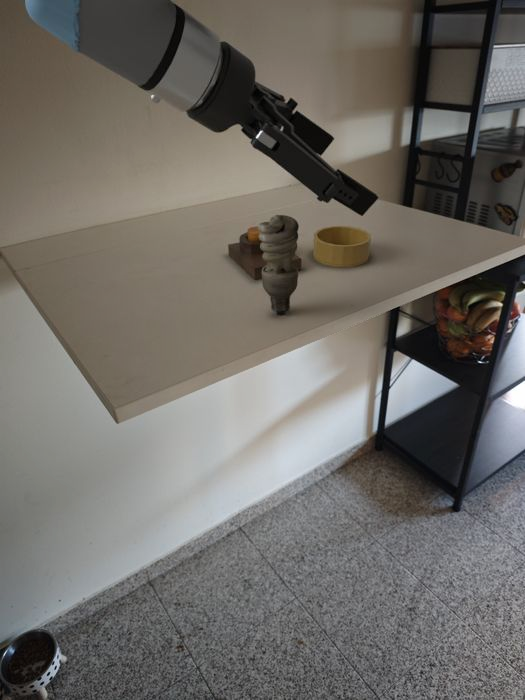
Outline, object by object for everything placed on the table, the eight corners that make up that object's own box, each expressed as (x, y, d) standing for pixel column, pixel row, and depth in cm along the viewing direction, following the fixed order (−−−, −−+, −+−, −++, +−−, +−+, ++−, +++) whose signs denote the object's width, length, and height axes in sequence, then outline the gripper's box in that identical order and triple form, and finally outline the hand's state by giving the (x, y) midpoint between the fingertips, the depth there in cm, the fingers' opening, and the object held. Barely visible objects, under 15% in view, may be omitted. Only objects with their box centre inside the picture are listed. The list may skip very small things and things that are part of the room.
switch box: (301, 269, 88) (301, 248, 86) (254, 280, 85) (254, 258, 83) (271, 247, 97) (271, 227, 95) (228, 255, 94) (227, 235, 92)
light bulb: (265, 324, 73) (263, 224, 64) (255, 307, 77) (253, 211, 69) (302, 318, 74) (304, 219, 65) (290, 302, 78) (291, 207, 70)
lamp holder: (379, 260, 91) (382, 239, 89) (331, 271, 87) (332, 250, 85) (348, 242, 98) (350, 222, 96) (303, 251, 95) (303, 231, 93)
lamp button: (270, 240, 90) (270, 231, 89) (252, 244, 89) (252, 234, 88) (262, 234, 93) (262, 225, 92) (244, 237, 92) (244, 228, 91)
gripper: (162, 62, 57) (294, 148, 70) (208, 178, 42) (366, 260, 55) (196, -3, 53) (329, 101, 66) (260, 99, 38) (416, 208, 51)
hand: (346, 173), depth 61 cm, fingers open, 13 cm apart
